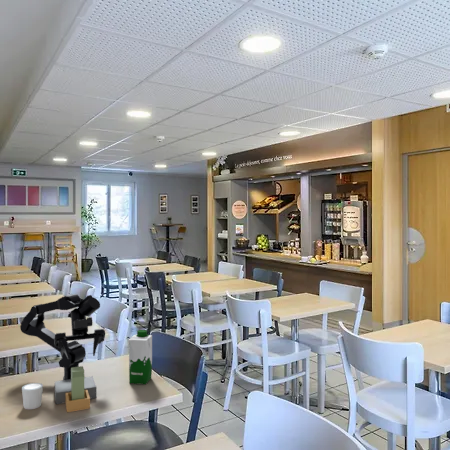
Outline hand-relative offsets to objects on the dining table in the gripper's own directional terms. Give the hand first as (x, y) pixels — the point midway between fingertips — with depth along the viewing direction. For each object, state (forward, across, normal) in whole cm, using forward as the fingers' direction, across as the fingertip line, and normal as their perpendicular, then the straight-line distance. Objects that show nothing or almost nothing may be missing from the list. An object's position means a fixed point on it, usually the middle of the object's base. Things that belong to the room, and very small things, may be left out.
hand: (81, 357), depth 163 cm
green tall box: (+18, -2, +2) cm, 18 cm away
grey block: (+13, -2, +6) cm, 15 cm away
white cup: (+13, -17, +6) cm, 22 cm away
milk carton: (+8, +23, +12) cm, 27 cm away
